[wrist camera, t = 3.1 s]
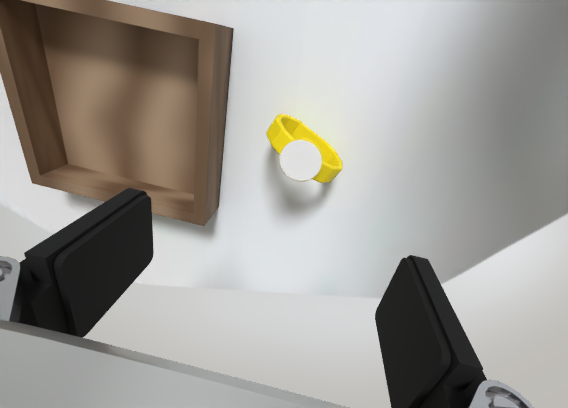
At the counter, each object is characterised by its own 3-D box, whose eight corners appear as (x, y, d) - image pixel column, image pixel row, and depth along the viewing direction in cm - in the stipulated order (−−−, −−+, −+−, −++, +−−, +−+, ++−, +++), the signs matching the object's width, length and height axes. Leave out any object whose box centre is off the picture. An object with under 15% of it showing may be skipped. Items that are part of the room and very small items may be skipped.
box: (233, 28, 20) (215, 23, 17) (218, 206, 27) (204, 225, 24) (24, -17, 21) (-29, -29, 18) (64, 169, 28) (32, 183, 25)
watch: (271, 129, 23) (248, 147, 18) (291, 101, 22) (272, 111, 17) (327, 174, 24) (320, 203, 19) (349, 149, 23) (349, 173, 17)
